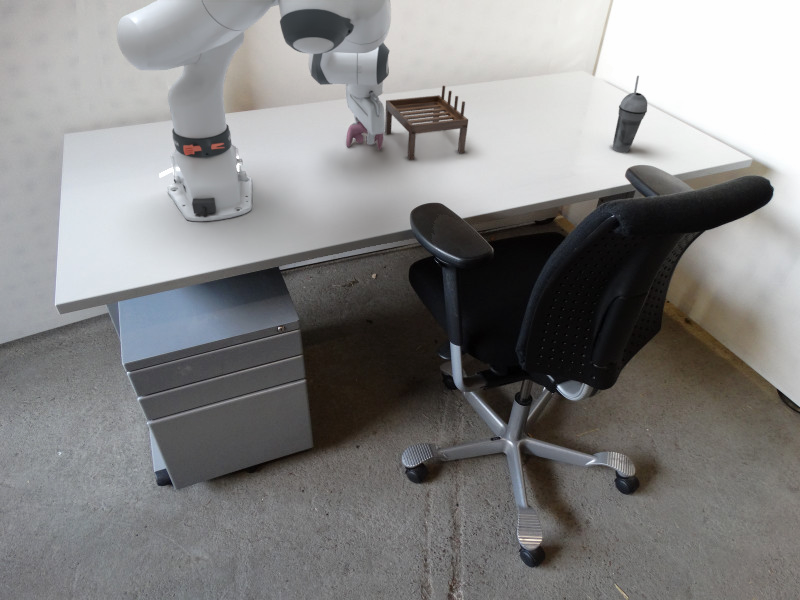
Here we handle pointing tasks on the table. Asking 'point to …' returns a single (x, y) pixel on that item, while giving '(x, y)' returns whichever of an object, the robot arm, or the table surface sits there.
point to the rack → (427, 117)
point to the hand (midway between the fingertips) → (364, 137)
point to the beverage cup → (629, 120)
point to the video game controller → (356, 132)
